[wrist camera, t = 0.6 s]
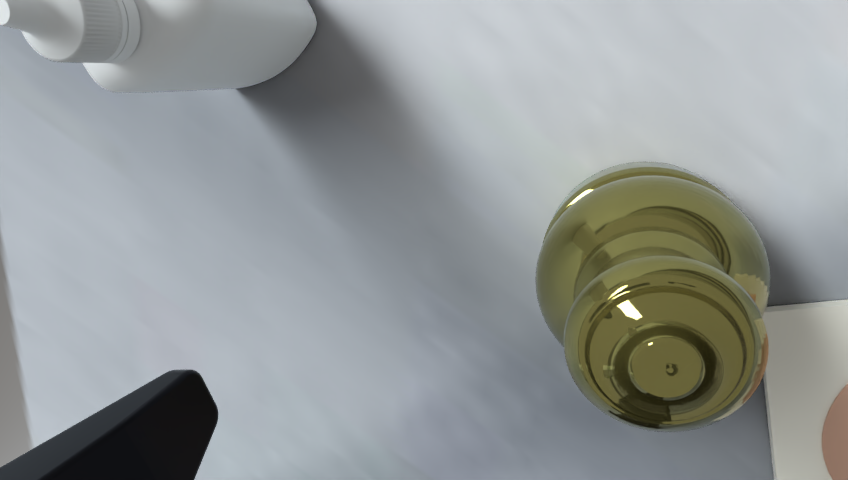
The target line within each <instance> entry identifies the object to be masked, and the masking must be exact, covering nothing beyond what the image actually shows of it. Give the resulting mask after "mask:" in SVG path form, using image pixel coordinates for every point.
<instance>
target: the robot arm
mask: <svg viewBox="0 0 848 480" xmlns="http://www.w3.org/2000/svg"><path fill="white" fill-rule="evenodd" d="M217 421H218V409H217V406H216V404H215V402H214V400H213V398H212V396H211V394H210V392H209V390H208V388H207V386H206V384H205V382H204V380H203V378H202V377H201V375H200V374H199V373H198V372H196V371H194V370H172V371H169V372H167V373H165V374H163V375H161V376H160V377H158V378H156V379H154V380H153V381H151V382H149V383H147V384H146V385H144V386H142V387H140V388H139V389H137V390H135V391H133V392H132V393H130V394H128V395H126V396H125V397H123V398H121V399H119V400H118V401H116V402H114V403H112V404H111V405H109V406H107V407H105V408H104V409H102V410H100V411H98V412H97V413H95V414H93V415H91V416H90V417H88V418H86V419H84V420H83V421H81V422H79V423H77V424H76V425H74V426H72V427H70V428H69V429H67V430H65V431H63V432H62V433H60V434H58V435H56V436H55V437H53V438H51V439H49V440H48V441H46V442H44V443H42V444H41V445H39V446H37V447H35V448H34V449H32V450H30V451H28V452H27V453H25V454H23V455H21V456H20V457H18V458H16V459H14V460H13V461H11V462H9V463H7V464H6V465H4V466H2V467H0V480H194V479H195V476H196V474H197V471H198V469H199V466H200V464H201V461H202V459H203V456H204V454H205V452H206V449H207V447H208V444H209V442H210V439H211V437H212V434H213V432H214V429H215V427H216V424H217Z"/></svg>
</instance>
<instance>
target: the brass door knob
mask: <svg viewBox="0 0 848 480" xmlns="http://www.w3.org/2000/svg"><path fill="white" fill-rule="evenodd" d="M536 293H537V299H538V303H539V307H540V309H541V312H542V315H543V317H544V319H545V322H546V324H547V325H548V327H549V329H550V331H551V332H552V334H553V335H554V337H555V338H556V339H557V340H558V342H559V343H560V344H561V345H562V346H563V347H564V352H565V357H566V361H567V365H568V368H569V371H570V373H571V376H572V378H573V380H574V382H575V383H576V385H577V386H578V388H579V389H580V391H581V392H582V393H583V394H584V396H585V397H586V398H587V399H588V400H589V401H590V402H591V403H592V404H593V405H594V406H596V407H597V408H598V409H599V410H601V411H602V412H603V413H605V414H607V415H608V416H610V417H612V418H614V419H615V420H617V421H620V422H622V423H624V424H627V425H630V426H632V427H636V428H640V429H644V430H649V431H657V432H681V431H688V430H694V429H698V428H702V427H705V426H708V425H711V424H713V423H716V422H718V421H720V420H722V419H724V418H726V417H727V416H729V415H731V414H732V413H733V412H735V411H736V410H737V409H739V408H740V407H741V406H742V405H743V404H744V403H745V402H746V401H747V400H748V399H749V398H750V397H751V396H752V394H753V393H754V392H755V390H756V389H757V387H758V386H759V384H760V382H761V380H762V378H763V375H764V372H765V370H766V366H767V362H768V354H769V344H768V336H767V331H766V327H765V324H764V320H763V315H764V312H765V310H766V307H767V303H768V299H769V293H770V265H769V261H768V256H767V253H766V249H765V246H764V244H763V242H762V240H761V237H760V236H759V234H758V232H757V230H756V229H755V227H754V226H753V224H752V223H751V222H750V220H749V219H748V218H747V217H746V216H745V215H744V213H743V212H742V211H741V210H740V209H738V208H737V207H736V206H735V205H734V204H733V203H732V202H731V201H730V200H729V199H728V198H727V197H726V196H725V195H724V194H723V193H722V192H721V191H719V190H718V189H717V188H715V187H714V186H712V185H711V184H709V183H708V182H707V181H705V180H704V179H702V178H701V177H699V176H698V175H696V174H694V173H692V172H690V171H688V170H685V169H683V168H680V167H677V166H674V165H670V164H665V163H658V162H632V163H626V164H621V165H617V166H613V167H610V168H607V169H605V170H602V171H600V172H598V173H596V174H594V175H592V176H591V177H589V178H587V179H586V180H585V181H583V182H582V183H580V184H579V185H578V186H577V187H576V188H574V189H573V190H572V191H571V192H570V193H569V194H568V196H567V197H566V198H565V199H564V200H563V202H562V203H561V205H560V206H559V208H558V209H557V211H556V213H555V215H554V217H553V219H552V221H551V223H550V225H549V227H548V229H547V232H546V235H545V237H544V241H543V245H542V248H541V251H540V254H539V258H538V262H537V268H536Z"/></svg>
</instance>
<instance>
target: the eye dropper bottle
mask: <svg viewBox="0 0 848 480" xmlns="http://www.w3.org/2000/svg"><path fill="white" fill-rule="evenodd" d="M0 25H3V26H6V27H10V28H13V29H17V30H21V31H22V33H23V35H24V37H25V38H26V40H27V42H28V43H29V44H30V45H31V47H32V48H33V49H34V50H35V51H36V52H38V54H40V55H41V56H42V57H45V58H46V59H49V60H50V61H54V62H70V63H83V65H84V67H85V68H86V70H87V71H88V73H89V74H90V76H91V77H92V78H93V80H94V81H95V82H96V83H97V84H98V85H99V86H100V87H102V88H103V89H106V90H108V91H111V92H116V93H150V92H174V91H196V90H217V89H236V88H243V87H248V86H252V85H255V84H259V83H261V82H264V81H266V80H268V79H270V78H272V77H274V76H276V75H278V74H279V73H281V72H282V71H283V70H285V69H286V68H287V67H288V66H290V65H291V64H292V63H293V62H294V61H295V60H296V59H297V58H298V57H299V55H300V54H301V53H302V52H303V50H304V49H305V48H306V46H307V45H308V43H309V42H310V40H311V39H312V37H313V35H314V33H315V31H316V26H317V21H316V17H315V14H314V12H313V10H312V8H311V6H310V5H309V3H308V1H307V0H0Z"/></svg>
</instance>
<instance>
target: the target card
mask: <svg viewBox="0 0 848 480" xmlns="http://www.w3.org/2000/svg"><path fill="white" fill-rule="evenodd" d="M763 320H764V324H765V327H766V331H767V336H768V344H769V354H768V362H767V366H766V370H765V372H764V375H763V379H764V389H765V399H766V408H767V418H768V428H769V437H770V447H771V457H772V466H773V476H774V480H848V299H846V300H835V301H825V302H814V303H803V304H792V305H782V306H771V307H766V310H765V312H764V315H763Z"/></svg>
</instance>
